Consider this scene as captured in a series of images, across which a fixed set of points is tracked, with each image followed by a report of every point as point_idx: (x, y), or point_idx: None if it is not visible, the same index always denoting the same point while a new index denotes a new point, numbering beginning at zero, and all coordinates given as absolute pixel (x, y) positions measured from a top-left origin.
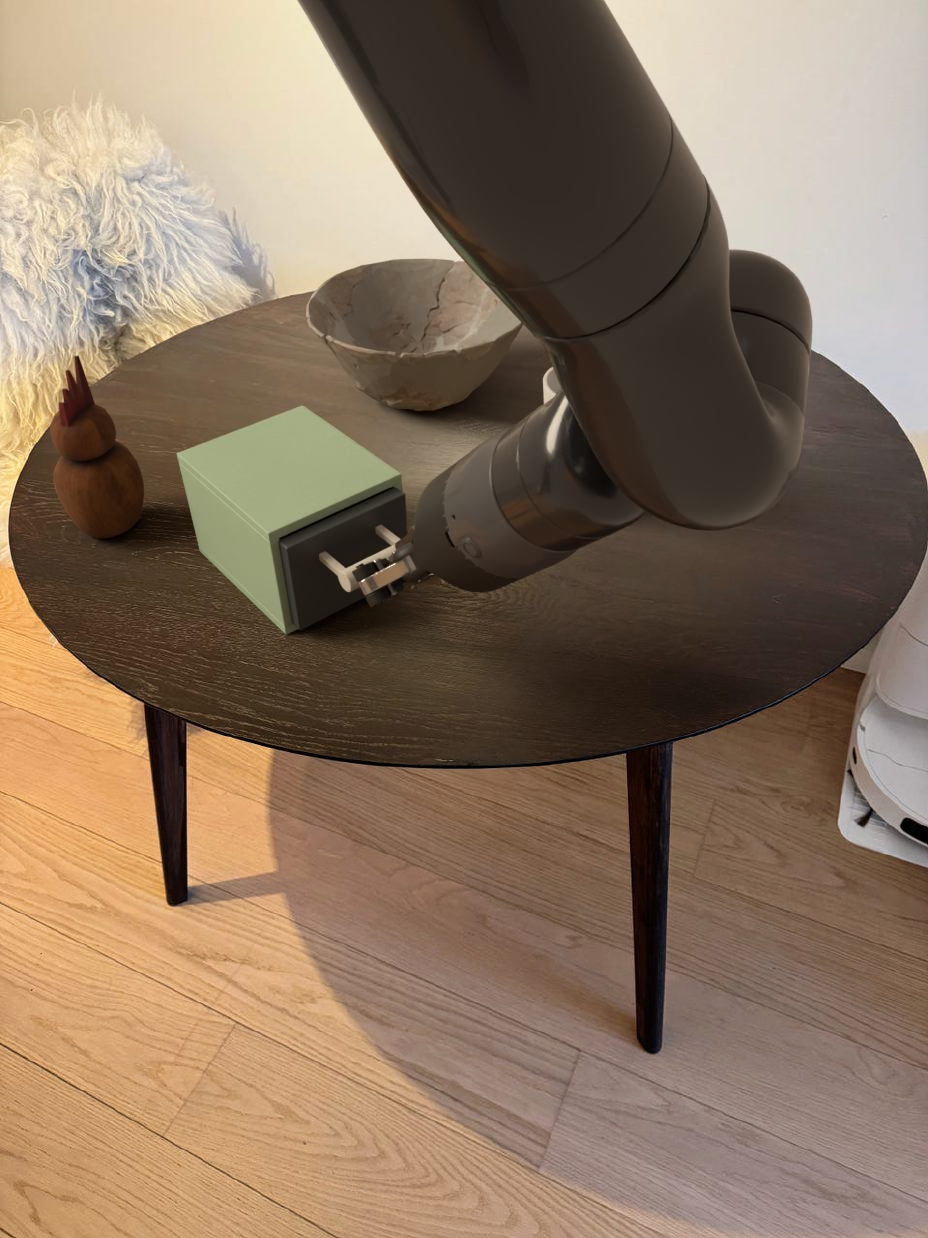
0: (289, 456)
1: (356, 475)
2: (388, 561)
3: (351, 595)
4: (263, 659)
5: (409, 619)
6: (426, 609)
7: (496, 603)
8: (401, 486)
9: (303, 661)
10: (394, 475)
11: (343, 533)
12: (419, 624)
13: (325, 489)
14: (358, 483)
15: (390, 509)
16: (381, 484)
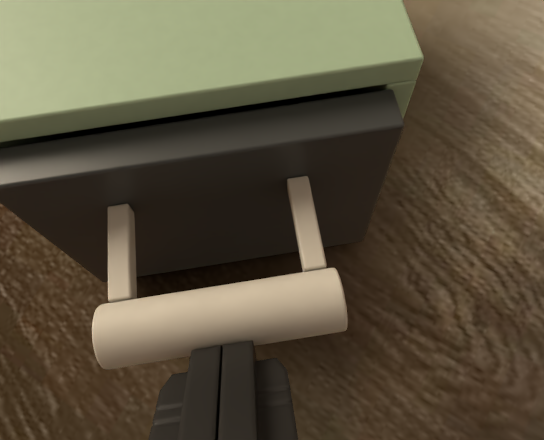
0: None
1: (298, 14)
2: (180, 422)
3: (220, 256)
4: (32, 300)
5: (310, 343)
6: (354, 334)
7: (500, 396)
8: (410, 90)
9: (83, 343)
10: (399, 57)
11: (183, 179)
12: (321, 367)
13: (188, 32)
14: (284, 46)
15: (344, 151)
16: (346, 74)
